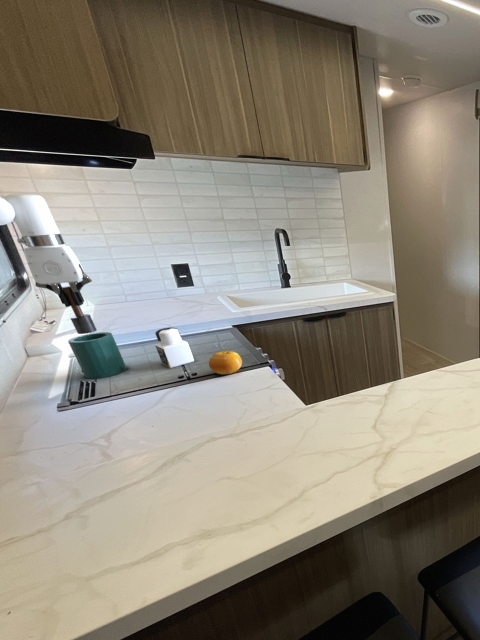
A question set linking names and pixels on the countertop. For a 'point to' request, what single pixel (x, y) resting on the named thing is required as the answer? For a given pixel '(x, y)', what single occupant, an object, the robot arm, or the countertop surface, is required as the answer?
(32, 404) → the countertop surface
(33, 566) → the countertop surface
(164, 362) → the medicine bottle
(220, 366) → the fruit
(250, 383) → the countertop surface
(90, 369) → the jar
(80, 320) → the brush
